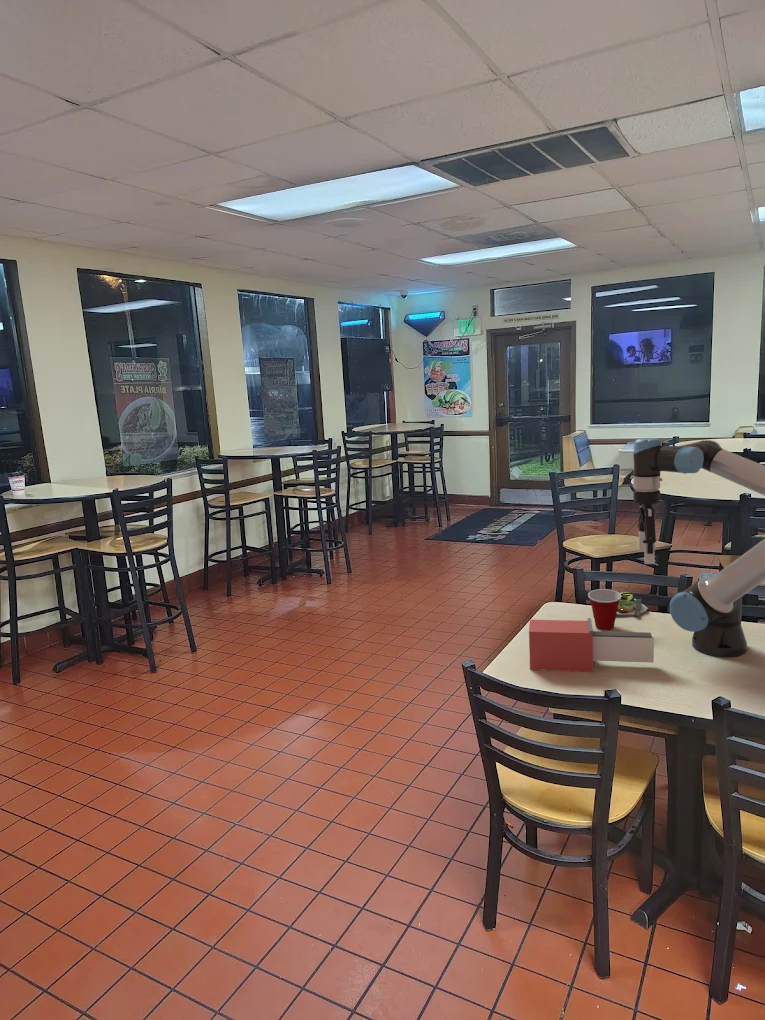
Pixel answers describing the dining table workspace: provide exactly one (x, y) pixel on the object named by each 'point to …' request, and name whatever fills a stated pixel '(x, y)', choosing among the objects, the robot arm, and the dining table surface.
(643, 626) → the dining table surface
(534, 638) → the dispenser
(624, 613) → the salad plate
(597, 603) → the plastic cup
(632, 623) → the dining table surface
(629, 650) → the white rectangular block
